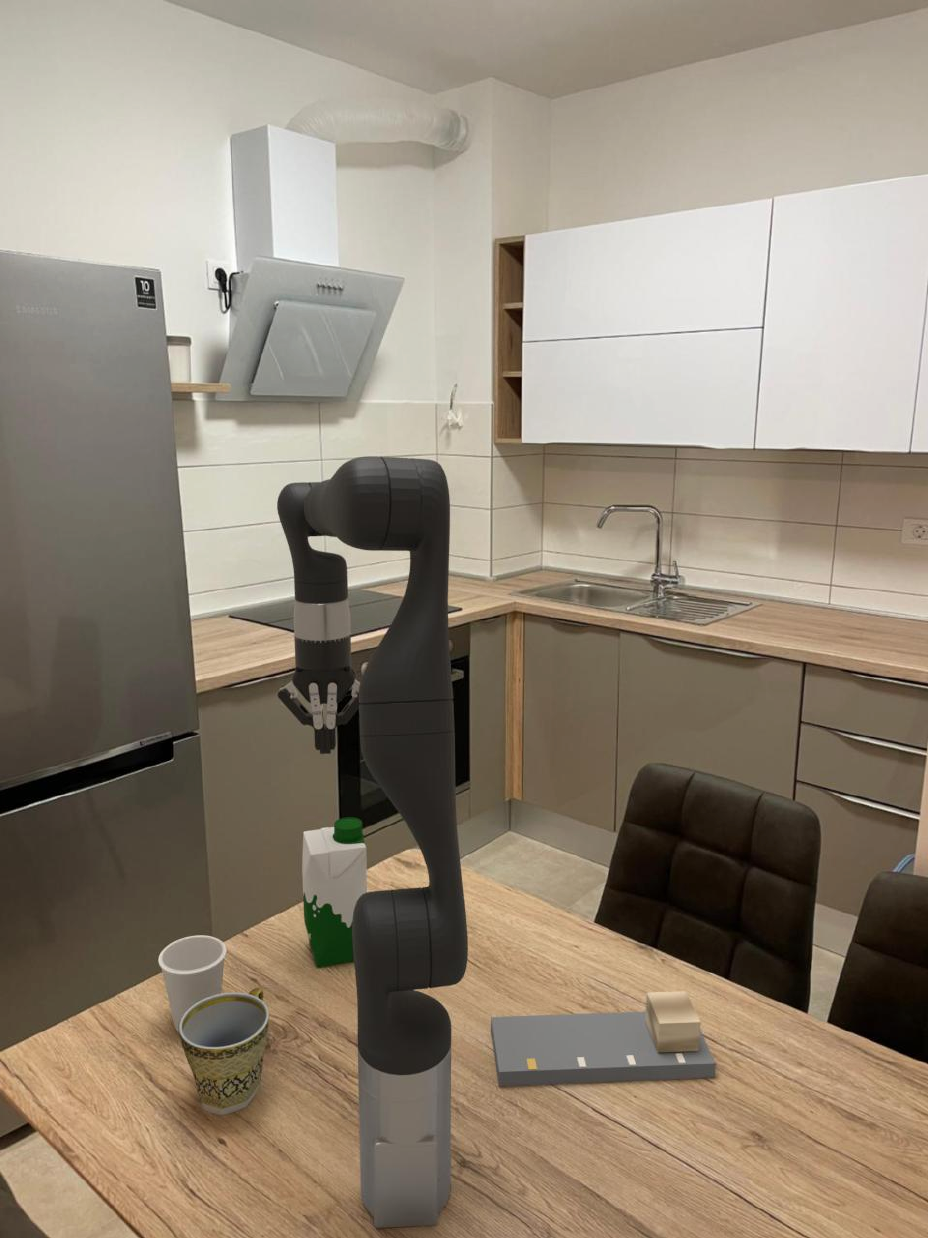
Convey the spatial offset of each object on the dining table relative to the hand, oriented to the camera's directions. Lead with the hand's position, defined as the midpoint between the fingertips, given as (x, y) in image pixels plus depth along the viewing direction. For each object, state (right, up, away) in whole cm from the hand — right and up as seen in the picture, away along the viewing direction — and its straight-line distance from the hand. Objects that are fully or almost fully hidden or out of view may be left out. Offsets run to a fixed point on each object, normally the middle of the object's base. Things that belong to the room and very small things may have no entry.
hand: (326, 751), depth 129 cm
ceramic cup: (-8, -37, -19) cm, 42 cm away
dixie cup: (-16, -34, -8) cm, 38 cm away
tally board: (+36, -35, -14) cm, 52 cm away
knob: (+45, -33, -14) cm, 58 cm away
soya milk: (0, -30, +7) cm, 31 cm away
